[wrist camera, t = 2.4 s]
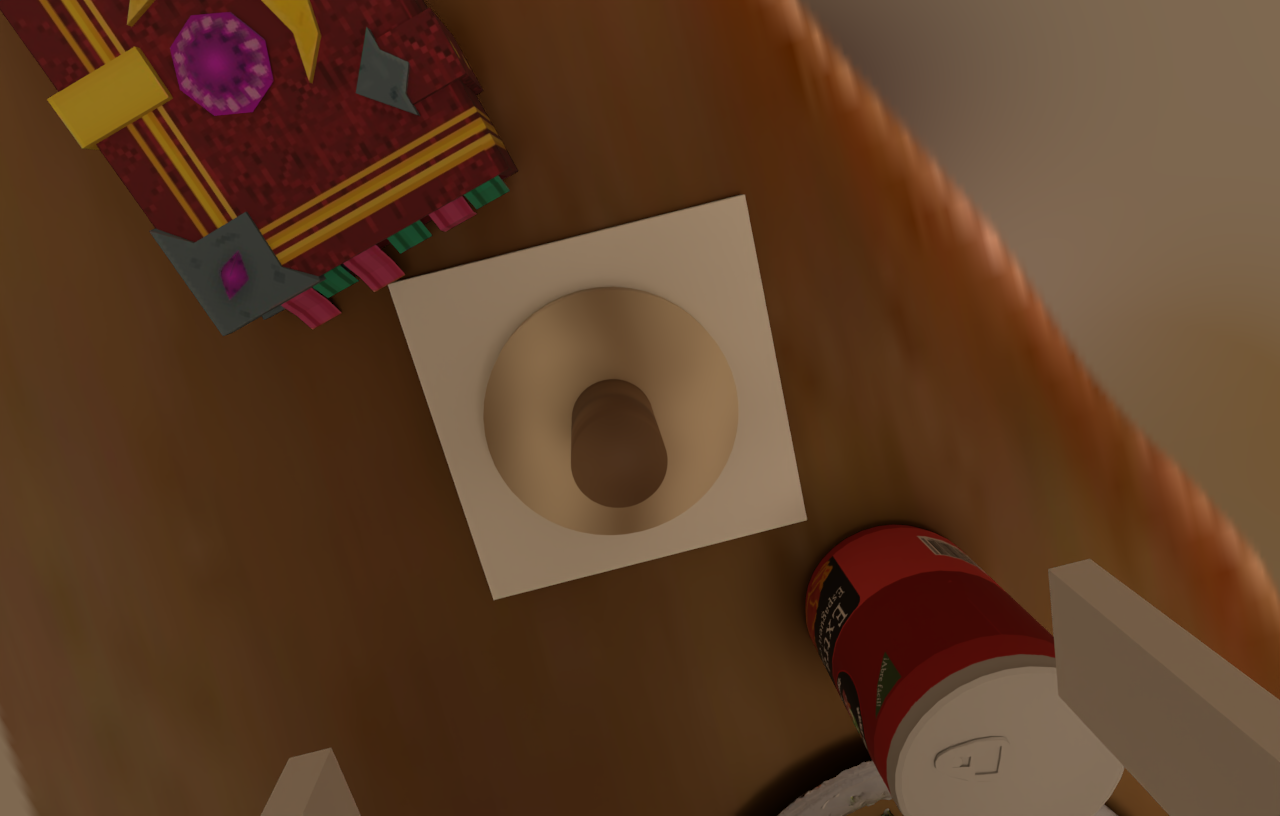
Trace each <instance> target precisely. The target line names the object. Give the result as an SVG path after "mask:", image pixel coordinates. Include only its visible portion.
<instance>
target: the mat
mask: <svg viewBox="0 0 1280 816" xmlns="http://www.w3.org/2000/svg"><path fill="white" fill-rule="evenodd" d="M388 287H389V290H390V293H391V296H392V299H393V302H394V305H395V308H396V311H397V314H398V317H399V320H400V323H401V326H402V329H403V332H404V335H405V338H406V341H407V344H408V347H409V350H410V353H411V356H412V359H413V362H414V365H415V368H416V371H417V374H418V377H419V379H420V382H421V385H422V388H423V391H424V394H425V397H426V400H427V403H428V406H429V409H430V412H431V415H432V418H433V421H434V424H435V427H436V430H437V433H438V436H439V439H440V442H441V445H442V448H443V451H444V454H445V457H446V460H447V463H448V466H449V469H450V472H451V475H452V478H453V481H454V484H455V487H456V490H457V493H458V496H459V498H460V501H461V504H462V507H463V510H464V513H465V516H466V519H467V522H468V525H469V528H470V531H471V534H472V537H473V540H474V543H475V546H476V549H477V552H478V555H479V558H480V561H481V564H482V567H483V570H484V573H485V576H486V579H487V582H488V585H489V588H490V591H491V594H492V597H493V600H496V599H500V598H504V597H508V596H512V595H516V594H519V593H523V592H527V591H531V590H535V589H539V588H543V587H547V586H551V585H555V584H559V583H563V582H567V581H571V580H574V579H578V578H582V577H586V576H590V575H594V574H598V573H602V572H606V571H610V570H614V569H618V568H622V567H625V566H629V565H633V564H637V563H641V562H645V561H649V560H653V559H657V558H661V557H665V556H669V555H673V554H676V553H680V552H684V551H688V550H692V549H696V548H700V547H704V546H708V545H712V544H716V543H720V542H724V541H728V540H731V539H735V538H739V537H743V536H747V535H751V534H755V533H759V532H763V531H767V530H771V529H775V528H779V527H782V526H786V525H790V524H794V523H798V522H802V521H806V520H807V517H806V512H805V507H804V501H803V496H802V491H801V486H800V481H799V475H798V470H797V465H796V460H795V454H794V449H793V444H792V439H791V433H790V428H789V423H788V418H787V413H786V407H785V402H784V397H783V392H782V386H781V381H780V376H779V371H778V365H777V360H776V355H775V350H774V345H773V339H772V334H771V329H770V324H769V318H768V313H767V308H766V303H765V297H764V292H763V287H762V282H761V277H760V271H759V266H758V261H757V256H756V250H755V245H754V240H753V235H752V229H751V224H750V219H749V214H748V209H747V203H746V198H745V195H743V194H741V195H737V196H733V197H729V198H725V199H721V200H717V201H713V202H709V203H705V204H701V205H697V206H693V207H689V208H686V209H682V210H678V211H674V212H670V213H666V214H662V215H658V216H654V217H650V218H646V219H642V220H638V221H634V222H630V223H626V224H622V225H618V226H614V227H610V228H606V229H602V230H598V231H594V232H590V233H586V234H582V235H578V236H574V237H570V238H566V239H562V240H558V241H554V242H550V243H546V244H542V245H538V246H534V247H530V248H526V249H522V250H518V251H514V252H510V253H506V254H502V255H498V256H494V257H490V258H486V259H482V260H478V261H474V262H470V263H466V264H462V265H458V266H454V267H450V268H446V269H442V270H438V271H435V272H431V273H427V274H423V275H419V276H415V277H411V278H407V279H403V280H399V281H395V282H392V283H390V284H388ZM597 287H623V288H632V289H637V290H641V291H646V292H649V293H652V294H654V295H657V296H660V297H662V298H664V299H666V300H668V301H670V302H672V303H674V304H676V305H678V306H679V307H680V308H682V309H683V310H685V311H686V312H687V313H689V314H690V315H691V316H692V317H693V318H695V319H696V320H697V321H698V322H699V323H700V324H701V325H702V326H703V327H704V328H705V330H706V331H707V332H708V333H709V334H710V336H711V337H712V338H713V339H714V340H715V342H716V343H717V344H718V346H719V348H720V349H721V351H722V353H723V354H724V356H725V358H726V360H727V362H728V364H729V367H730V369H731V371H732V374H733V378H734V381H735V385H736V390H737V397H738V426H737V433H736V438H735V441H734V445H733V449H732V452H731V454H730V456H729V459H728V461H727V463H726V465H725V467H724V469H723V471H722V472H721V474H720V476H719V478H718V479H717V480H716V482H715V483H714V484H713V485H712V487H711V488H710V489H709V491H708V492H707V493H706V494H705V495H704V496H703V497H702V498H701V499H700V500H699V501H698V502H697V503H695V504H694V505H693V506H692V507H690V508H689V509H688V510H687V511H685V512H684V513H682V514H680V515H679V516H677V517H675V518H674V519H672V520H670V521H668V522H666V523H664V524H661V525H659V526H657V527H654V528H651V529H647V530H644V531H641V532H635V533H630V534H622V535H595V534H589V533H583V532H578V531H575V530H571V529H568V528H565V527H562V526H560V525H557V524H555V523H553V522H551V521H549V520H547V519H545V518H544V517H542V516H540V515H539V514H537V513H535V512H534V511H533V510H531V509H530V508H529V507H528V506H526V505H525V504H524V503H523V502H522V501H521V500H520V499H519V498H518V497H517V496H516V495H515V494H514V493H513V492H512V491H511V490H510V488H509V487H508V486H507V484H506V483H505V482H504V480H503V479H502V477H501V475H500V474H499V472H498V470H497V468H496V467H495V465H494V462H493V460H492V457H491V455H490V452H489V449H488V445H487V441H486V437H485V430H484V420H483V414H484V399H485V393H486V388H487V384H488V381H489V378H490V375H491V372H492V369H493V367H494V365H495V362H496V360H497V358H498V356H499V354H500V352H501V350H502V348H503V347H504V345H505V344H506V342H507V341H508V339H509V338H510V336H511V335H512V334H513V333H514V332H515V330H516V329H517V328H518V327H519V326H520V325H521V324H522V323H523V322H524V321H525V320H526V319H527V318H528V317H530V316H531V315H532V314H533V313H534V312H536V311H537V310H539V309H540V308H542V307H543V306H545V305H546V304H548V303H550V302H552V301H554V300H556V299H558V298H560V297H562V296H565V295H568V294H571V293H574V292H577V291H580V290H586V289H591V288H597Z"/></svg>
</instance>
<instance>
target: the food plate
mask: <svg viewBox="0 0 1280 816" xmlns="http://www.w3.org/2000/svg"><path fill="white" fill-rule="evenodd" d="M805 793H806V792H805ZM805 793H804V794H805ZM801 796H802V795H801ZM801 796H800V797H798V798H797V799H796V801H795V800H794V801H795V802H794V801H793V802H794V803H792V802H791V803H792V804H790V805H789V806H788V807H787V808H785V810H783V811H782V812H781V813H780V814H779V815H777V816H845V815H847V814H850V813H852V812H854V811H856V810H858V809H860V808H862V807H864V806H865V805H866V806H870V805H873V804H874V803H876V802H877V801H879V800H881V799H887V800H891V799H892V796H891V794H890V792H889V790H888V788H887V786H886V785H885V783H884V781H883V779H882V778H881V776H880V774H879V772H878V770H877V768H876V766H875V764H874V762H873V760H872V761H871V762H870V761H868V762H862V763H861V764H860V765H858V766H854V767H852V768H849V770H848V769H846V770H845V771H842V772H841V773H840V774H839V775H837V776H836V777H835V778H833V779H830V780H828V781H824V782H823V783H822V784H821V785H820V786H818V787H816V788H815V789H814V790H812V791H809V790H808V793H807V794H805V796H804V797H801ZM882 816H893V815H892V813H891V811H890V810H889V809H886V810H885V811H884V814H883V815H882ZM1093 816H1118V815H1117V814H1116V813H1114V812H1113V811H1112V810H1111V809H1110V808H1109V807H1107V806H1106V805H1105V804H1104V805H1103V806H1102V807H1101V808H1100V809H1099V811H1098V812H1097V813H1096V814H1094V815H1093Z"/></svg>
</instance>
